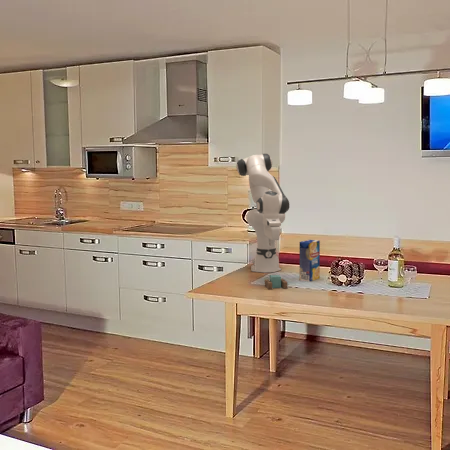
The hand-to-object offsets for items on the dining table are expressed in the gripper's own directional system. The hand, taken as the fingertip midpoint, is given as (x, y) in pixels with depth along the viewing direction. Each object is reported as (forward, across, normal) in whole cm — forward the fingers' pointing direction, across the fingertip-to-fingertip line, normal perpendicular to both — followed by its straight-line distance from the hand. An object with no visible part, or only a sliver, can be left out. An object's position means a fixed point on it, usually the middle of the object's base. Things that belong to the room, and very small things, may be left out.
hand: (271, 246), depth 315 cm
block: (+21, +8, 0) cm, 23 cm away
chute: (+21, +9, 0) cm, 23 cm away
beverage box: (+21, -6, +24) cm, 33 cm away
